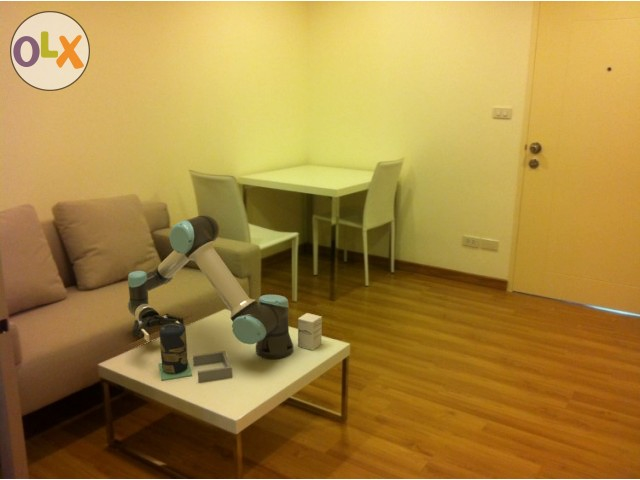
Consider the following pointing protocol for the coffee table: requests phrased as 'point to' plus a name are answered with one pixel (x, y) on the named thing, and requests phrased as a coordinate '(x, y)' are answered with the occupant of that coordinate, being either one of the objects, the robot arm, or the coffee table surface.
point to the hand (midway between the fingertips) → (165, 334)
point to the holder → (213, 373)
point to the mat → (176, 375)
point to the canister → (173, 347)
